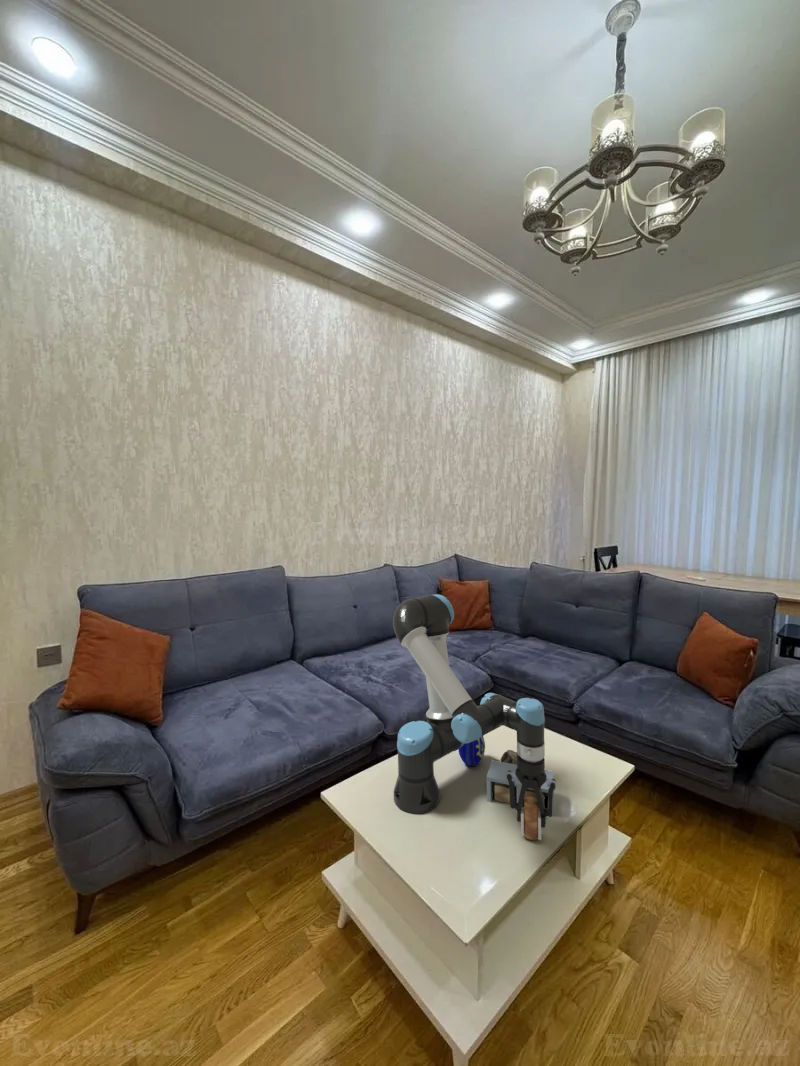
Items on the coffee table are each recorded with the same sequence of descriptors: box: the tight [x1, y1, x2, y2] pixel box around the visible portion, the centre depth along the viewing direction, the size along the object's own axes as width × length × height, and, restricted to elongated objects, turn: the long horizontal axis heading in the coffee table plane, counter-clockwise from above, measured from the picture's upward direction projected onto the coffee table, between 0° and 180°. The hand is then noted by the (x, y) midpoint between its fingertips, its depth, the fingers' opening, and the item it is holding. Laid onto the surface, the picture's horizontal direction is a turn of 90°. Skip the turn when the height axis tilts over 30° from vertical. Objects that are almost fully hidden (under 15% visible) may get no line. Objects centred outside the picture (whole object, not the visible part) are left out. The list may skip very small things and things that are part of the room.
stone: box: [500, 749, 518, 765], centre depth 152 cm, size 7×12×7 cm, turn 33°
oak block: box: [494, 782, 517, 804], centre depth 141 cm, size 6×6×5 cm
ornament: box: [457, 736, 486, 767], centre depth 159 cm, size 11×9×15 cm
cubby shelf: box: [486, 759, 555, 816], centre depth 139 cm, size 20×10×8 cm, turn 68°
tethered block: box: [523, 789, 546, 841], centre depth 130 cm, size 6×20×10 cm, turn 159°
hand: (531, 834), depth 123 cm, fingers closed on tethered block, 4 cm apart
